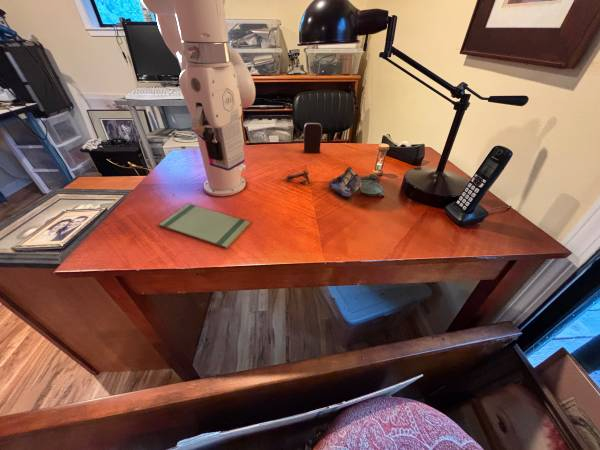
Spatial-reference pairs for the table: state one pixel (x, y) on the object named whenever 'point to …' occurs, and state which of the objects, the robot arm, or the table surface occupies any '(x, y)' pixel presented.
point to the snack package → (346, 183)
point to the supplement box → (229, 144)
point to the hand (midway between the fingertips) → (225, 152)
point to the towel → (205, 225)
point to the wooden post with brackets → (299, 176)
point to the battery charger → (312, 137)
